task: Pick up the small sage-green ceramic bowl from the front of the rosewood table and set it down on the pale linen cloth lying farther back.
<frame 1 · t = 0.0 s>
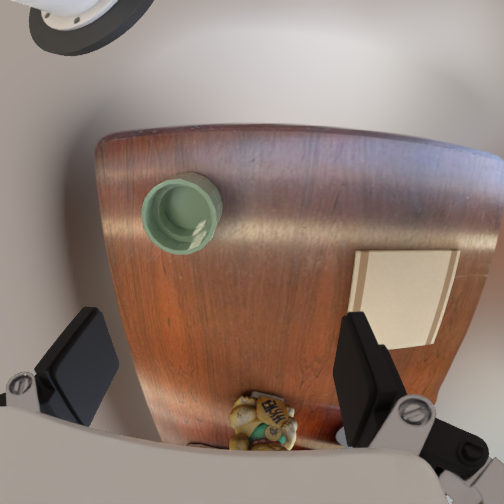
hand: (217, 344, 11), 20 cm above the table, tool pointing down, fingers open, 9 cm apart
bowl: (189, 205, 30), on the table
cloth: (401, 303, 33), on the table
decorative figurine: (262, 405, 41), on the table
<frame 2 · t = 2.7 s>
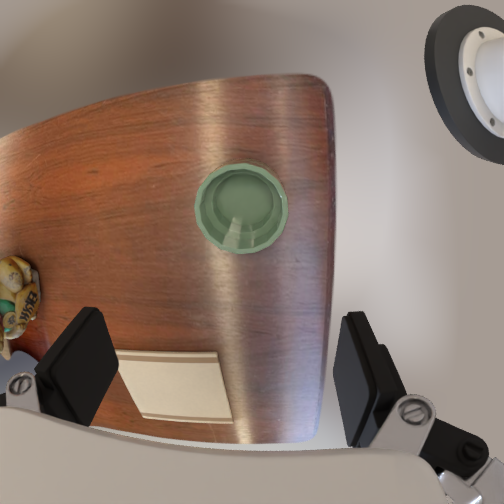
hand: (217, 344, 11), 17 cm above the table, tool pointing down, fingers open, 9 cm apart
bowl: (244, 196, 26), on the table
cloth: (174, 389, 36), on the table
decorative figurine: (24, 280, 31), on the table
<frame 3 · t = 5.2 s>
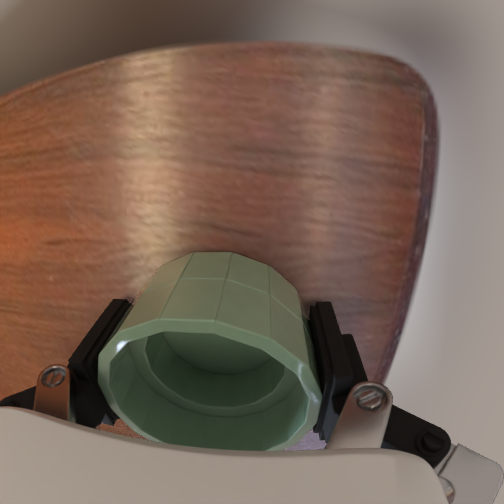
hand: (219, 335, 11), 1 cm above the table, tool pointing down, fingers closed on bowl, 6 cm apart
bowl: (222, 323, 12), on the table, touching gripper
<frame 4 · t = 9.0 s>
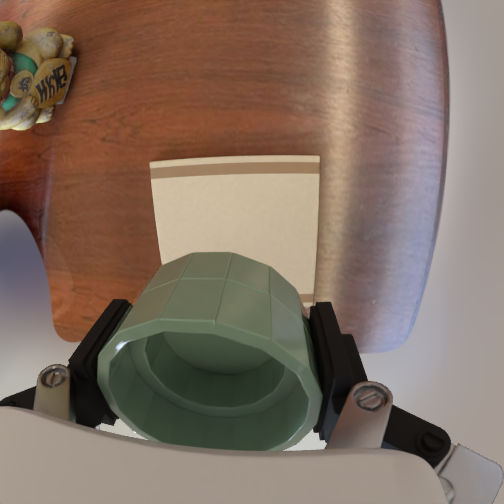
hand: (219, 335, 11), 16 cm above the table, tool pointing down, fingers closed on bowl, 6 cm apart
bowl: (221, 323, 12), point 15 cm above the table, touching gripper
cloth: (235, 237, 27), on the table
decorative figurine: (49, 80, 21), on the table
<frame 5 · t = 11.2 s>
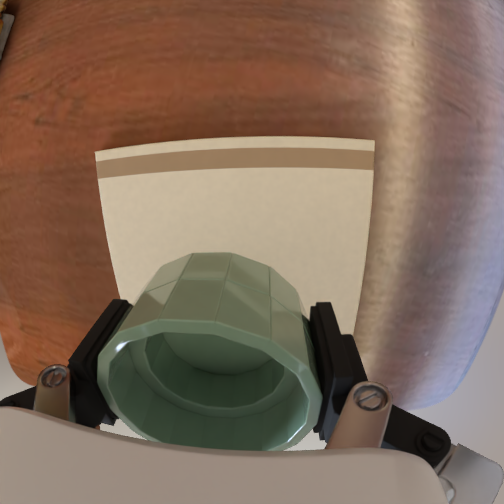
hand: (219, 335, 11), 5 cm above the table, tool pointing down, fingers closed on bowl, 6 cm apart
bowl: (221, 324, 12), point 5 cm above the table, touching gripper
cloth: (234, 271, 16), on the table
when the fingers open (1 cm above the table, at t = 12.9 s): bowl stays where it is, resting on cloth.
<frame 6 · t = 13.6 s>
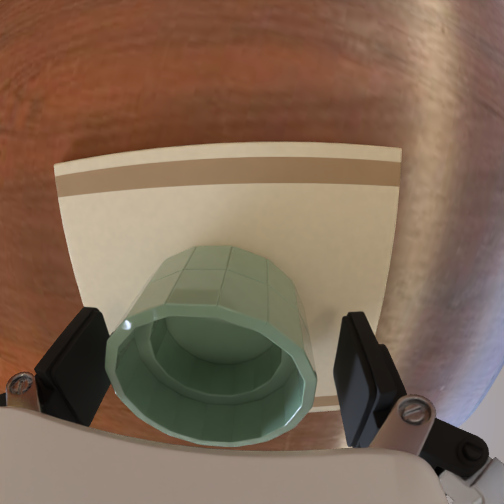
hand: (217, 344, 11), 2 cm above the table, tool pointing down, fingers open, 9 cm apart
bowl: (222, 315, 13), resting on cloth
cloth: (223, 309, 13), on the table
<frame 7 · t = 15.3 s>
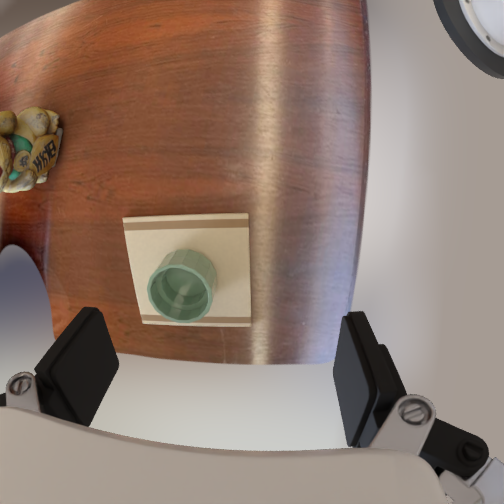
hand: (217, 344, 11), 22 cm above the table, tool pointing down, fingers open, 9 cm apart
bowl: (188, 275, 34), resting on cloth
cloth: (188, 274, 34), on the table
decorative figurine: (42, 144, 29), on the table
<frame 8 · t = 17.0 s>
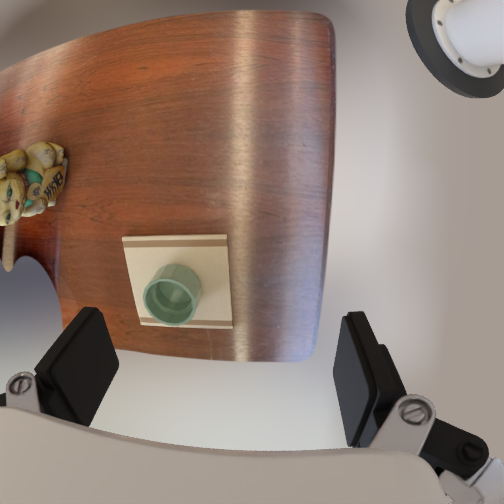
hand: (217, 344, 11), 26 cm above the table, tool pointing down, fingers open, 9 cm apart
bowl: (177, 285, 40), resting on cloth
cloth: (178, 284, 40), on the table
decorative figurine: (50, 171, 35), on the table
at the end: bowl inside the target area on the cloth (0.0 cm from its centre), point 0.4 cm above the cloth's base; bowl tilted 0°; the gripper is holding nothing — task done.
